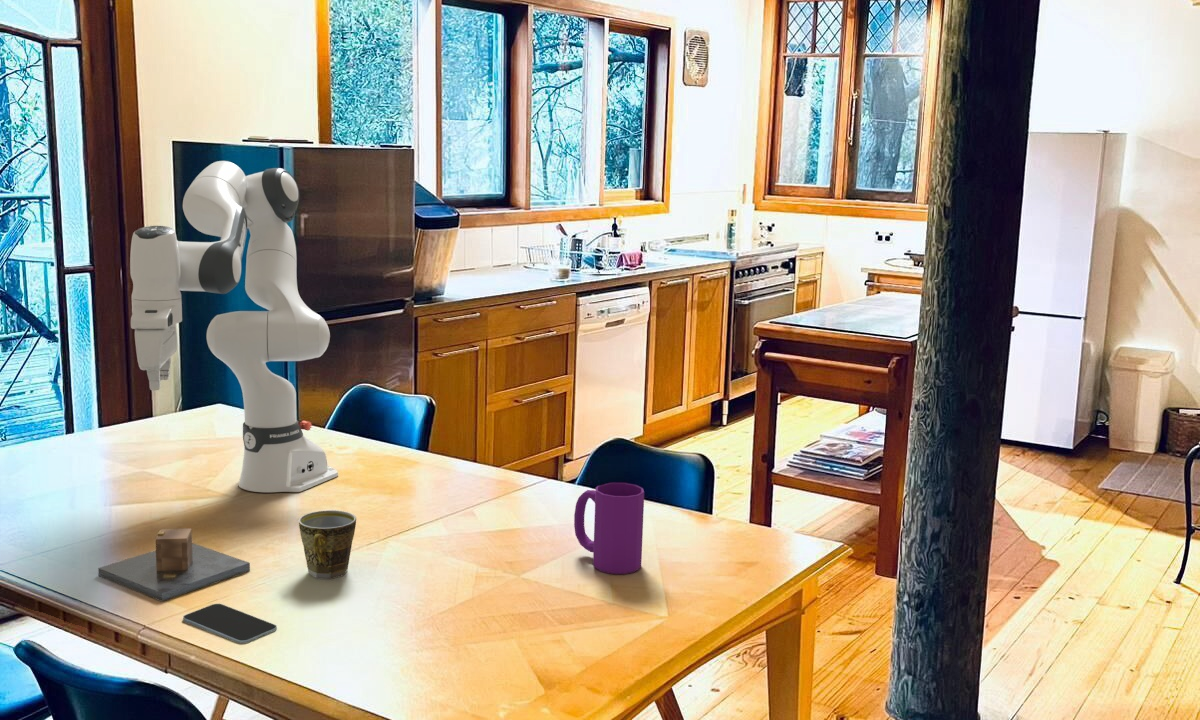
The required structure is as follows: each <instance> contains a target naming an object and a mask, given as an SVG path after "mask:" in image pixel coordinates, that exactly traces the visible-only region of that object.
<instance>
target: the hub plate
mask: <svg viewBox="0 0 1200 720" xmlns="http://www.w3.org/2000/svg"><path fill="white" fill-rule="evenodd" d="M192 557H193V560H192V562H191V564H190V566H189V569H188V570H173V571H157V567H156V549H155V550H152V551H149V552H146V553H143V554H138V555H135V556H133V557H130V558H126V559H124V560H123V559H122V560H120V561H117V562H113V563H110V564H107V565H104V566H100V567H98V577H100V578H102V579H105V580H107V581H110V582H112V583H115V584H118V585H120V586H122V587H124V588H127V589H129V590H132V591H135V592H137V593H140V594H142V595H145V596H148V597H150V598H152V599H155V600H157V601H160V602H165V601H168V600H171V599H173V598H176V597H179V596H182V595H184V594H188V593H191V592H193V591H196V590H199V589H203V588H205V587H208V586H210V585H214V584H216V583H219V582H221V581H222V582H223V581H224V580H227V579H230V578H233V577H236V576H238V575H242V574H244V573H247V572H251V562H249V561H245V560H243V559H241V558H237V557H234V556H231V555H229V554H225V553H223V552H220V551H216V550H213V549H211V548H208V547H205V546H204V545H203V546H202V545H200V544H197V543H194V542H192Z"/></svg>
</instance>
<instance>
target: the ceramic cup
mask: <svg viewBox="0 0 1200 720" xmlns="http://www.w3.org/2000/svg"><path fill="white" fill-rule="evenodd" d="M356 525H357V517H356V515H355V514H353V513H350V512H348V511H344V510H333V509H332V510H330V509H329V510H327V509H326V510H318V511H313V512H309V513H306V514H304V515H302V516H301V517H299V519H298V527H299V532H300V538H301V542H302V545H303V551H304V556H305V561H306V565H307V566H306V567H307V571H308V573H309V575H310V576H311V577H314V578H316V579H322V580H330V579H331V580H332V579H335V578H339V577H343V576H344V575H345V574H346V572H347V570H348V568H349V564H350V558H351V557H350V556H351V552H352V548H353V547H352V546H353V545H352V544H353V540H354V536H355V532H356Z"/></svg>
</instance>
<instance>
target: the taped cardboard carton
mask: <svg viewBox="0 0 1200 720" xmlns="http://www.w3.org/2000/svg"><path fill="white" fill-rule="evenodd" d="M192 531H193V530H192V528H169V529H168V528H164V529H163V528H162V529H160V530H159V531H158V532H157V534H156V537H155V543H154V544H155V550H156V567H157V571H173V570H188V569H189V566H190V564H191V562H192V560H193V557H192V543H193V535H192V534H193V532H192Z"/></svg>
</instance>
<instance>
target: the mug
mask: <svg viewBox="0 0 1200 720" xmlns="http://www.w3.org/2000/svg"><path fill="white" fill-rule="evenodd" d="M589 499H591V500H592V502H593V503H594V523H593V524H594V529H593V530H594V531H593V540H592V539H590V537H589V536H588V534H586V529H585V527H586V526H585V513H586V507H587V504H588V503H587V502H588V500H589ZM644 505H645V491H644V488H643V487H641V486H639V485H637V484H634V483H628V482H608V483H605V484H601V485H597V486H596V487H595V490H594V489H591V490H590V489H587V490H585V491H584V492H583V493H581V495H579V497H578V499H577V501H576V502H575V507H574V508H575V509H574V515H573V516H574V517H573V518H574V519H573V521H574V522H573V523H574V524H573V525H574V526H573V527H574V533H575V537H576V539H577V541H578V543H579V545H580V546H581V547H582V548H584V550H586V551H588V552H590V553H593V555H592V556H593V557H592V563H593V568H594V569H597V570H598V571H600V572H602V573H606V574H610V575H627V574H632V573H633V574H634V573H635V572H636V571H638V570H639V569H641V568H642V559H643V558H642V557H643V556H642V555H643V554H642V553H643V552H642V551H643V530H644V509H645V508H644V507H645V506H644Z"/></svg>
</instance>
